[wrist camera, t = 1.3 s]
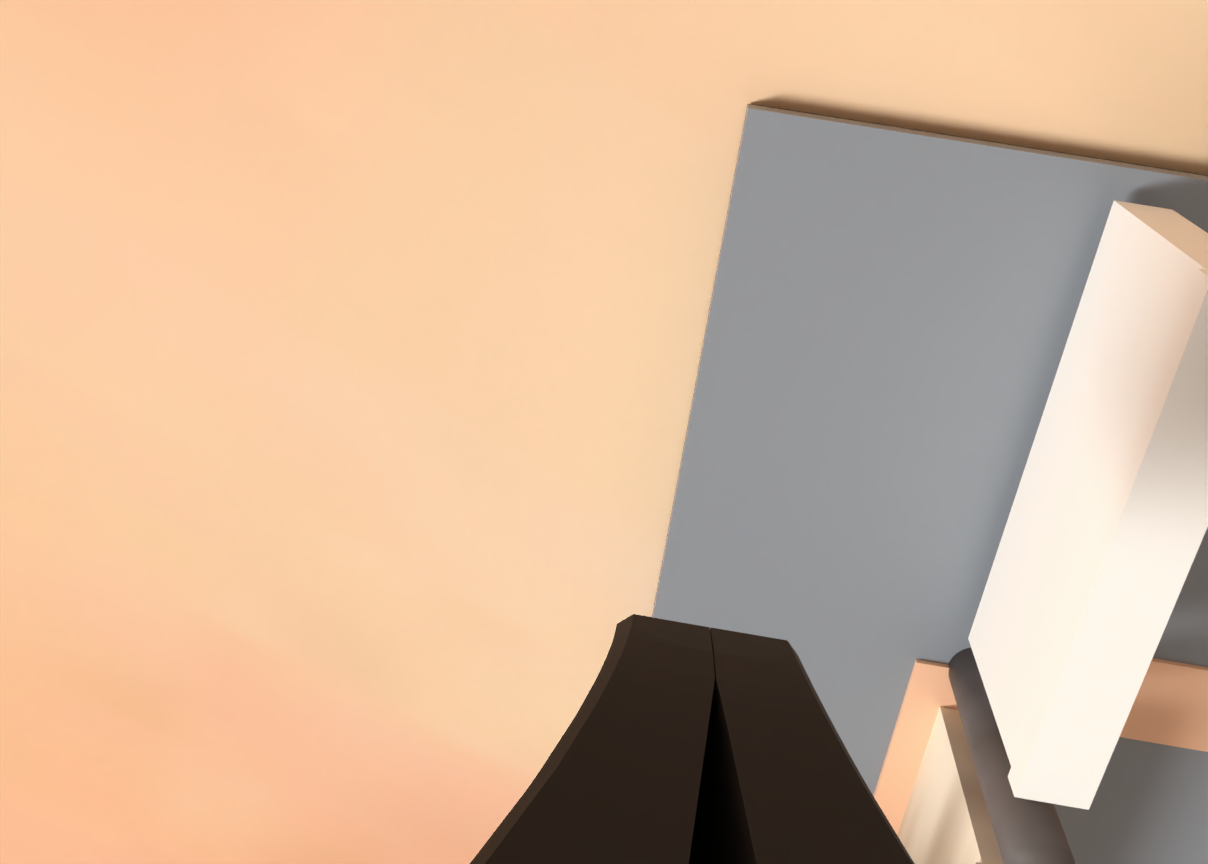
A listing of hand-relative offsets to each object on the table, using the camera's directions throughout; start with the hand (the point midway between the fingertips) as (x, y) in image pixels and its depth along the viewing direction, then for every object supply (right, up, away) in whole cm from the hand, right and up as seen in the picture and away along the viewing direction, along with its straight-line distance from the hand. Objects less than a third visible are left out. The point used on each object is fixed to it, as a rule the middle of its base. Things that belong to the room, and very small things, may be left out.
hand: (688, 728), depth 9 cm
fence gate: (+6, +2, +8) cm, 10 cm away
